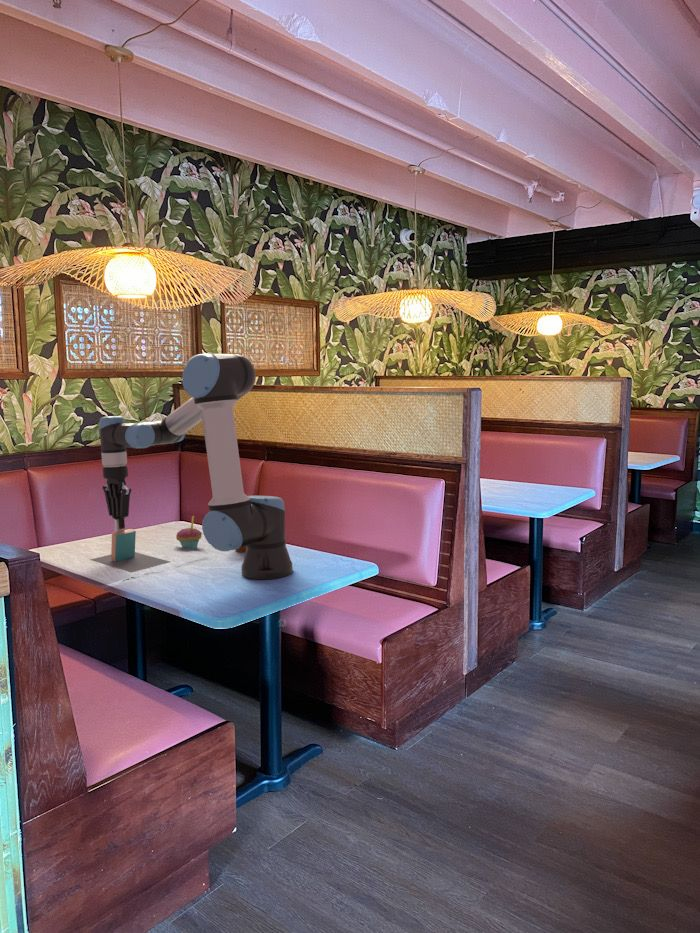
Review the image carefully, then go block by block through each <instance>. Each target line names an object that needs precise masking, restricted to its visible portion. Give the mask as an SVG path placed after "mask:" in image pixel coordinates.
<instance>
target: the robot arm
mask: <svg viewBox="0 0 700 933" xmlns="http://www.w3.org/2000/svg"><path fill="white" fill-rule="evenodd" d="M256 376H257V374H256V369H255V366H254V365H253V363H252V362H251V361H250V360H249V359H248V358H247V357H245V356H244V355H242V354H237V353H214V352H213V353H211V352H209V353H207V352H206V353H200V354H196V355H193V356H191V357H190V359H188V360H187V363H186V364H185V365H184V368H183V369H182V377H181V379H182V380H181V381H182V386H183V389H184V392H186V393H187V395H188V396H189V397H191V398H189V399H188V400H187V401H185V402H184V403H182V405H180V406H179V407H177V408H176V409H175V410H174V411H172V412H171V413H169V414H168V415H167V416H165V417H164V418H163V419H161V420H155V421H152V420H151V421H143V422H133V423H131V422H127V423H126V421H125V418H124V416H122V415H118V416H117V415H112V416H103V417H100V419H99V430H98V431H99V438H100V449H101V453H100V454H101V464H102V466H103V467H102V478H103V479H104V480H106V485H103V486H102V490H103V493H104V497H105V500H106V501H105V502H106V506H107V507H106V508H107V512H108V516H110V517H111V518H112V519H113V526H114V532H118V531H123V530H126V529H125V527H126V526H125V518H128V517H129V514H130V513H129V511H130V500H131V497H130V495H131V492H132V488H131V487H128V486H127V482H126V480H125V479H126V478H128V477H129V470H128V467H129V466H128V465H127V463H128V458H127V456H128V453H127V448H131V449H147V448H149V447H151V446H153V447H154V446H160V445H167V444H169V445H170V444H171V445H172V444H175V443H179V442H181V441H183V440H184V438H185V436H186V434H187V432H188V431H190V430H191V429H193V428H194V427H195V426H197V425H198V424H200V423H201V422H202V427H203V434H204V441H205V449H206V455H207V457H206V458H207V463H208V470H209V478H210V485H211V491H212V492H211V493H212V497H211V499H210V501H209V502H207V503H208V504H207V505H208V513H206V514H205V515H204V517H203V520H202V522H201V529H202V534H203V535H204V539H205V540H206V541H207V542H208V544H209V545H211V547H212V548H214V549H215V550H217V551H220V552H229V551H236V549H238V548H240V547H243V546H246V552H244V558H243V562H242V564H241V576H243V577H244V578H248V579H252V580H272V579H273V580H274V579H280V578H283V577H287V576H289V575H291V574H292V573H293V562H292V560H291V557H290V554H289V551H288V549H287V543H286V540H287V539H286V509H285V500H283V498H281V497H279V496H272V495H247V494H246V493H245V491H244V483H243V477H242V476H243V475H242V469H241V461H240V460H241V459H240V454H239V446H238V445H239V444H238V436H237V429H236V423H235V415H234V406H235V405H236V403H237V402H238V400H240V399H241V398H242V397H243V398H244V397H245V395H247V394H249V392H251V390H252V388H253V387H254V385H255V382H256Z"/></svg>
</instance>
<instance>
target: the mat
mask: <svg viewBox="0 0 700 933" xmlns="http://www.w3.org/2000/svg"><path fill="white" fill-rule="evenodd" d="M89 560H90V561H93V562H96V563H100V564H103V565H106V566H109V567H113V568H115V569H120V570H122V571H126V572H129V573H134V572H139V571H142V570H146V569H150V568H154V567H157V566H160V565H161V566H162V565H165V564H167V563H171V561H170V560H166V559H162V558H159V557H154V556H151V555H147V554H143V553H139V552H136V551H135V557H132V558H128V559H124V560H120V561H116V562H115V561H113V560H111V554H108V555H104V556H98V557H94V558H91V559H89Z"/></svg>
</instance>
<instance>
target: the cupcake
mask: <svg viewBox="0 0 700 933" xmlns="http://www.w3.org/2000/svg"><path fill="white" fill-rule="evenodd" d="M194 519H195V515H194V513H193V515H192V516H191V523H190V527H188V528H181V529H180V530H179V531H177V533H176V535H175V537H176V538H175V539H176V540H177V541H179V544H180V545H181V548H183V549H186V550H191V551H194V550H196V549H198V544H199V541H200V539H201V538H202V535H203V532H201V531H200V530H199V529H197V528H195V527H194V522H195V520H194Z"/></svg>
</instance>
